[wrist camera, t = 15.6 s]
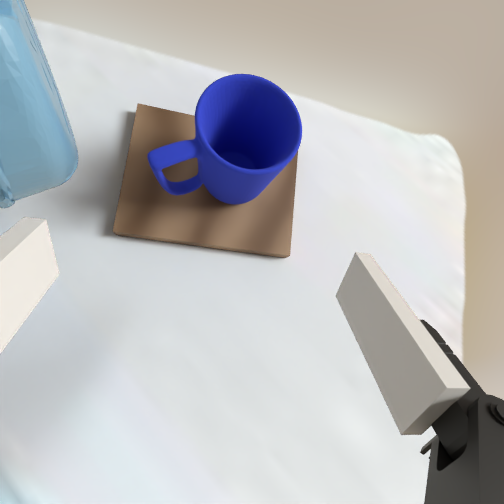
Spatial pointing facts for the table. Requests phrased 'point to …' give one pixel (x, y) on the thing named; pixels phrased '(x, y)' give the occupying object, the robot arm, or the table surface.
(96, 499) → the table surface
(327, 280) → the table surface
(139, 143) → the walnut board
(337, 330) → the table surface
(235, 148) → the mug
